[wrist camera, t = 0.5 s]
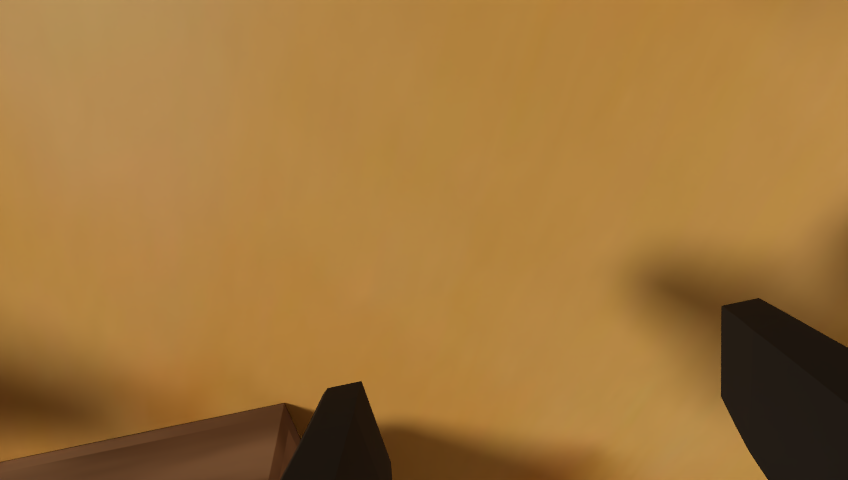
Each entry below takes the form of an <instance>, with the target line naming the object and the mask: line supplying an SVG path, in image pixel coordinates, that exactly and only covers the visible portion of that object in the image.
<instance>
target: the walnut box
mask: <svg viewBox="0 0 848 480" xmlns="http://www.w3.org/2000/svg"><path fill="white" fill-rule="evenodd" d="M300 441H301V439H300V437H299V435H298V433H297V431H296V428H295V426H294V424H293V422H292V419H291V417H290V415H289V413H288V411H287V408H286V406H285V404H284V403H283V404H278V405H273V406H269V407H264V408H259V409H254V410H249V411H245V412H240V413H235V414H230V415H225V416H221V417H216V418H211V419H206V420H201V421H197V422H192V423H187V424H182V425H177V426H173V427H168V428H163V429H158V430H153V431H149V432H144V433H139V434H134V435H129V436H125V437H120V438H115V439H110V440H105V441H101V442H96V443H91V444H86V445H81V446H77V447H72V448H67V449H62V450H57V451H53V452H48V453H43V454H38V455H33V456H29V457H24V458H19V459H14V460H9V461H5V462H0V480H280V478H281V477H282V475H283V473H284V471H285V469H286V467H287V466H288V464H289V462H290V460H291V458H292V456H293V454H294V453H295V451H296V449H297V447H298V445H299V443H300Z"/></svg>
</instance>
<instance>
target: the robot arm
mask: <svg viewBox="0 0 848 480" xmlns="http://www.w3.org/2000/svg"><path fill="white" fill-rule="evenodd" d="M721 397H722V399H723V401H724V403H725V405H726V407H727V409H728V411H729V413H730V415H731V417H732V420H733V422H734V424H735V426H736V427H737V429H738V431H739V433H740V435H741V437H742V439H743V441H744V443H745V444H746V446H747V448H748V450H749V452H750V453H751V455H752V456H753V458H754V459H755V461H756V463H757V464H758V466H759V467H760V469H761V470H762V471H763V473H764V474H765V476H766V477H767V479H768V480H848V348H847V347H846V346H844V345H842V344H840V343H838V342H837V341H835V340H833V339H831V338H829V337H828V336H826V335H824V334H822V333H820V332H819V331H817V330H815V329H813V328H812V327H810V326H808V325H806V324H804V323H803V322H801V321H799V320H797V319H796V318H794V317H792V316H790V315H789V314H787V313H785V312H783V311H781V310H780V309H778V308H776V307H774V306H772V305H771V304H769V303H767V302H765V301H763V300H761V299H759V298H757V299H753V300H748V301H743V302H738V303H733V304H729V305H724V306H722V311H721ZM280 480H392V471H391V462H390V459H389V456H388V453H387V451H386V448H385V445H384V442H383V440H382V437H381V434H380V431H379V428H378V426H377V423H376V420H375V417H374V415H373V412H372V409H371V406H370V404H369V401H368V398H367V395H366V393H365V390H364V387H363V384H362V382H361V381H360V382H355V383H351V384H346V385H341V386H336V387H331V388H327V390H326V391H325V393H324V394H323V396H322V398H321V400H320V402H319V404H318V406H317V408H316V410H315V412H314V415H313V417H312V419H311V421H310V423H309V425H308V427H307V429H306V431H305V433H304V435H303V437H302V439H301V441H300V443H299V445H298V447H297V449H296V451H295V453H294V454H293V456H292V458H291V460H290V462H289V464H288V466H287V467H286V469H285V471H284V473H283V475H282V477H281V478H280Z"/></svg>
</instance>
